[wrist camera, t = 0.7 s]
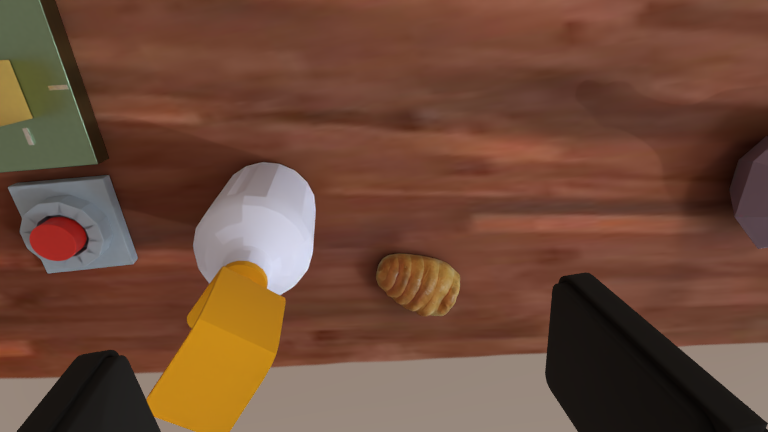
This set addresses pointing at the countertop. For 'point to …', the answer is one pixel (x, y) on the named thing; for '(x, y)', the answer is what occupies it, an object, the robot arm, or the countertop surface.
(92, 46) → the countertop surface
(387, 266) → the pastry
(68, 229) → the button
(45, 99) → the plate
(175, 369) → the soap bottle
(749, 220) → the flask
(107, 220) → the grey square piece
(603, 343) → the robot arm
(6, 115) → the yellow bar
